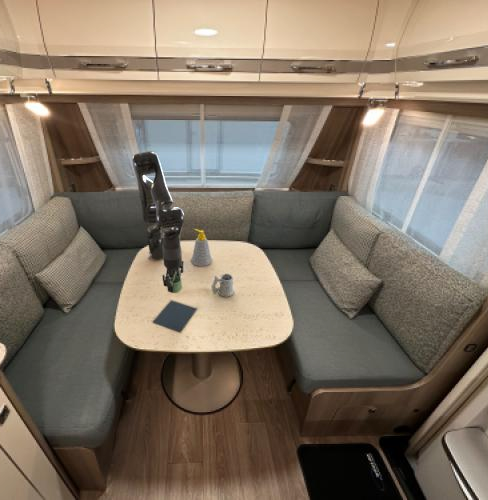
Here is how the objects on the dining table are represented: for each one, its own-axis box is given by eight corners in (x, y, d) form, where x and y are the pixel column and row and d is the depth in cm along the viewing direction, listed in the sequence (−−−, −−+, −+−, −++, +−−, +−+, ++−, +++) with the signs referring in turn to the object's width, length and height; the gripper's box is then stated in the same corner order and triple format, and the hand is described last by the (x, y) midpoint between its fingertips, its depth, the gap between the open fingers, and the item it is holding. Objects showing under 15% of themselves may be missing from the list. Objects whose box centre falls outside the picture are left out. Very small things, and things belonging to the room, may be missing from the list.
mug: (235, 295, 136) (237, 276, 130) (214, 300, 133) (214, 281, 127) (229, 286, 143) (230, 268, 137) (208, 291, 139) (209, 272, 133)
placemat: (171, 300, 132) (171, 300, 132) (196, 308, 127) (196, 308, 127) (152, 322, 120) (152, 321, 120) (180, 332, 115) (180, 331, 115)
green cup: (172, 283, 122) (171, 273, 119) (184, 287, 120) (183, 277, 117) (165, 291, 117) (164, 281, 114) (177, 295, 115) (176, 285, 112)
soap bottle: (199, 253, 172) (199, 224, 162) (215, 259, 166) (216, 230, 156) (187, 261, 163) (186, 232, 153) (203, 268, 157) (203, 238, 147)
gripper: (173, 245, 117) (175, 276, 125) (154, 261, 105) (158, 294, 113) (188, 249, 114) (189, 280, 122) (171, 265, 103) (173, 299, 111)
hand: (174, 287), depth 118 cm, fingers closed on green cup, 6 cm apart
